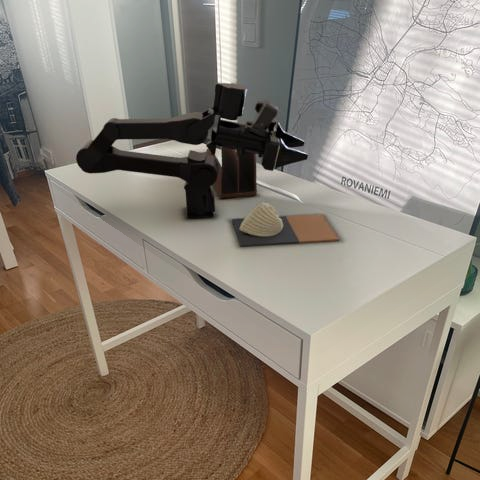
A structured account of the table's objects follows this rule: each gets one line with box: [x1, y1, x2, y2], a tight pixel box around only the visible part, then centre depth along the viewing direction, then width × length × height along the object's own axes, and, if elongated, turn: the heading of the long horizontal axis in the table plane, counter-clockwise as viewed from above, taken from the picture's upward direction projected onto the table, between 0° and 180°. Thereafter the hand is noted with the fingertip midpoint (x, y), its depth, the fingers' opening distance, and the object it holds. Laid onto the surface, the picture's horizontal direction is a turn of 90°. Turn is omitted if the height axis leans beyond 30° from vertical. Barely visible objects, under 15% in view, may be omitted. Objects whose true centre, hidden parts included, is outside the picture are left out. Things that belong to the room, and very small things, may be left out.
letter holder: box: [205, 147, 258, 199], centre depth 132 cm, size 10×20×14 cm, turn 14°
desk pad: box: [232, 213, 340, 248], centre depth 112 cm, size 22×14×1 cm, turn 98°
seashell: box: [240, 201, 283, 237], centre depth 109 cm, size 8×8×8 cm
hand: (305, 150), depth 111 cm, fingers open, 9 cm apart
